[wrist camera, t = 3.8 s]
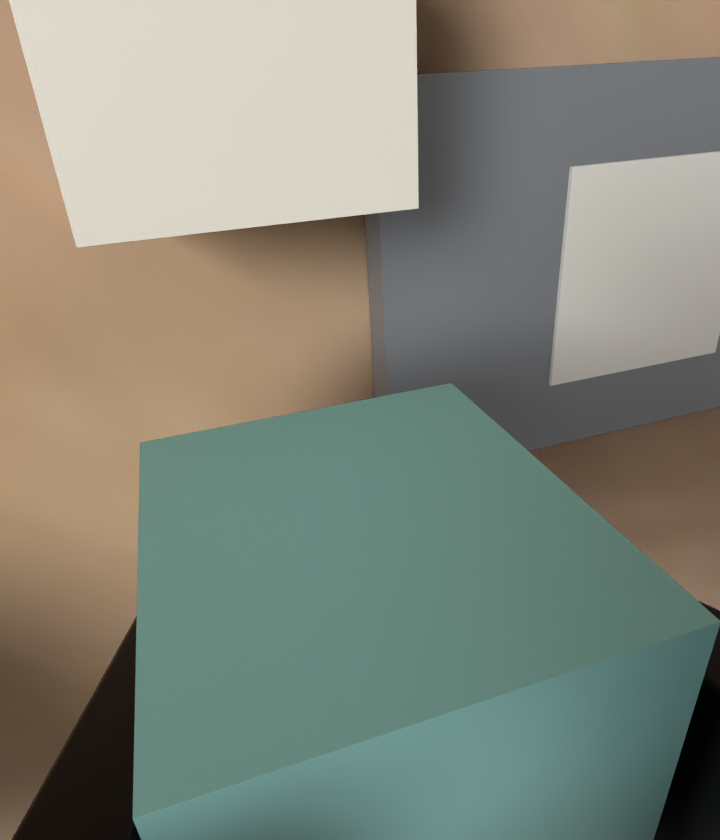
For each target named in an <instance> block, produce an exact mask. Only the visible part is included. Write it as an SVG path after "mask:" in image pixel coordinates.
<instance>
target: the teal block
mask: <svg viewBox="0 0 720 840" xmlns="http://www.w3.org/2000/svg"><path fill="white" fill-rule="evenodd" d="M719 626H720V620H719V619H718V618H716V617H715V616H714V615H713V614H712V613H711V612H710V611H708V610H707V609H706V608H705V607H704V606H703V605H702V604H701V603H699V602H698V601H697V600H696V599H695V598H694V597H693V596H692V595H690V594H689V593H688V592H687V591H686V590H685V589H684V588H682V587H681V586H680V585H679V584H678V583H677V582H676V581H675V580H673V579H672V578H671V577H670V576H669V575H668V574H667V573H666V572H664V571H663V570H662V569H661V568H660V567H659V566H658V565H656V564H655V563H654V562H653V561H652V560H651V559H650V558H649V557H647V556H646V555H645V554H644V553H643V552H642V551H641V550H640V549H638V548H637V547H636V546H635V545H634V544H633V543H632V542H630V541H629V540H628V539H627V538H626V537H625V536H624V535H623V534H621V533H620V532H619V531H618V530H617V529H616V528H615V527H614V526H612V525H611V524H610V523H609V522H608V521H607V520H606V519H604V518H603V517H602V516H601V515H600V514H599V513H598V512H597V511H595V510H594V509H593V508H592V507H591V506H590V505H589V504H588V503H586V502H585V501H584V500H583V499H582V498H581V497H580V496H578V495H577V494H576V493H575V492H574V491H573V490H572V489H571V488H569V487H568V486H567V485H566V484H565V483H564V482H563V481H562V480H560V479H559V478H558V477H557V476H556V475H555V474H554V473H552V472H551V471H550V470H549V469H548V468H547V467H546V466H545V465H543V464H542V463H541V462H540V461H539V460H538V459H537V458H536V457H534V456H533V455H532V454H531V453H530V452H529V451H528V450H526V449H525V448H524V447H523V446H522V445H521V444H520V443H519V442H517V441H516V440H515V439H514V438H513V437H512V436H511V435H510V434H508V433H507V432H506V431H505V430H504V429H503V428H502V427H500V426H499V425H498V424H497V423H496V422H495V421H494V420H493V419H491V418H490V417H489V416H488V415H487V414H486V413H485V412H484V411H482V410H481V409H480V408H479V407H478V406H477V405H476V404H474V403H473V402H472V401H471V400H470V399H469V398H468V397H467V396H465V395H464V394H463V393H462V392H461V391H460V390H459V389H458V388H456V387H455V386H454V385H453V384H452V383H449V384H444V385H438V386H433V387H428V388H423V389H418V390H412V391H407V392H402V393H397V394H392V395H386V396H381V397H376V398H371V399H365V400H360V401H355V402H350V403H345V404H339V405H334V406H329V407H324V408H318V409H313V410H308V411H303V412H298V413H292V414H287V415H282V416H277V417H272V418H266V419H261V420H256V421H251V422H245V423H240V424H235V425H230V426H225V427H219V428H214V429H209V430H204V431H198V432H193V433H188V434H183V435H178V436H172V437H167V438H162V439H157V440H151V441H146V442H141V443H140V475H139V524H138V574H137V624H136V674H135V723H134V773H133V821H134V823H135V826H136V828H137V831H138V833H139V835H140V838H141V840H654V837H655V834H656V830H657V827H658V824H659V821H660V817H661V814H662V811H663V808H664V804H665V801H666V798H667V795H668V791H669V788H670V785H671V782H672V778H673V775H674V772H675V769H676V765H677V762H678V759H679V756H680V753H681V749H682V746H683V743H684V740H685V736H686V733H687V730H688V727H689V723H690V720H691V717H692V714H693V710H694V707H695V704H696V701H697V697H698V694H699V691H700V688H701V685H702V681H703V678H704V675H705V672H706V668H707V665H708V662H709V659H710V655H711V652H712V649H713V646H714V642H715V639H716V636H717V633H718V629H719Z"/></svg>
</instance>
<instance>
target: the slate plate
mask: <svg viewBox="0 0 720 840" xmlns="http://www.w3.org/2000/svg"><path fill="white" fill-rule="evenodd" d="M417 108H418V195H419V208H418V209H409V210H400V211H391V212H383V213H374V214H365V228H366V247H367V266H368V285H369V304H370V323H371V342H372V361H373V380H374V398H376V397H381V396H386V395H392V394H397V393H402V392H407V391H412V390H418V389H423V388H428V387H433V386H438V385H444V384H449V383H452V384H453V385H454V386H455V387H456V388H458V389H459V390H460V391H461V392H462V393H463V394H464V395H465V396H467V397H468V398H469V399H470V400H471V401H472V402H473V403H474V404H476V405H477V406H478V407H479V408H480V409H481V410H482V411H484V412H485V413H486V414H487V415H488V416H489V417H490V418H491V419H493V420H494V421H495V422H496V423H497V424H498V425H499V426H500V427H502V428H503V429H504V430H505V431H506V432H507V433H508V434H510V435H511V436H512V437H513V438H514V439H515V440H516V441H517V442H519V443H520V444H521V445H522V446H523V447H524V448H525V449H526V450H528V451H531V450H535V449H540V448H544V447H548V446H553V445H557V444H561V443H566V442H570V441H574V440H579V439H583V438H587V437H592V436H596V435H600V434H605V433H609V432H613V431H618V430H622V429H626V428H631V427H635V426H639V425H644V424H648V423H652V422H657V421H661V420H665V419H670V418H674V417H678V416H683V415H687V414H691V413H696V412H700V411H704V410H709V409H713V408H717V407H720V57H712V58H694V59H677V60H659V61H642V62H624V63H607V64H589V65H571V66H554V67H536V68H519V69H501V70H484V71H466V72H449V73H431V74H417Z"/></svg>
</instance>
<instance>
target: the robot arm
mask: <svg viewBox="0 0 720 840" xmlns="http://www.w3.org/2000/svg"><path fill="white" fill-rule="evenodd" d="M698 602H699V601H698ZM699 603H701V604H702V605H703V606H704V607H705V608H706V609H707V610H708V611H710V612H711V613H712V614H713V615H714V616H715V617H716V618H718V619H719V620H720V611H719V610H717V609H715V608H713V607H711V606H708V605H706V604H704V603H702V602H699ZM136 624H137V616H136V618H135V620H134V622H133V623H132V625H131V627H130V629H129V631H128V632H127V634H126V636H125V638H124V640H123V641H122V643H121V645H120V647H119V648H118V650H117V652H116V654H115V656H114V657H113V659H112V661H111V663H110V665H109V666H108V668H107V670H106V672H105V673H104V675H103V677H102V679H101V681H100V682H99V684H98V686H97V688H96V690H95V691H94V693H93V695H92V697H91V699H90V700H89V702H88V704H87V706H86V707H85V709H84V711H83V713H82V715H81V716H80V718H79V720H78V722H77V724H76V725H75V727H74V729H73V731H72V733H71V734H70V736H69V738H68V740H67V741H66V743H65V745H64V747H63V749H62V750H61V752H60V754H59V756H58V758H57V759H56V761H55V763H54V765H53V767H52V768H51V770H50V772H49V774H48V775H47V777H46V779H45V781H44V783H43V784H42V786H41V788H40V790H39V792H38V793H37V795H36V797H35V799H34V800H33V802H32V804H31V806H30V808H29V809H28V811H27V813H26V815H25V817H24V818H23V820H22V822H21V824H20V826H19V827H18V829H17V831H16V833H15V834H14V836H13V838H12V840H141V838H140V835H139V833H138V831H137V828H136V826H135V823H134V821H133V773H134V723H135V674H136ZM654 840H720V626H719V629H718V633H717V636H716V639H715V642H714V646H713V649H712V652H711V655H710V659H709V662H708V665H707V668H706V672H705V675H704V678H703V681H702V685H701V688H700V691H699V694H698V697H697V701H696V704H695V707H694V710H693V714H692V717H691V720H690V723H689V727H688V730H687V733H686V736H685V740H684V743H683V746H682V749H681V753H680V756H679V759H678V762H677V765H676V769H675V772H674V775H673V778H672V782H671V785H670V788H669V791H668V795H667V798H666V801H665V804H664V808H663V811H662V814H661V817H660V821H659V824H658V827H657V830H656V834H655V837H654Z"/></svg>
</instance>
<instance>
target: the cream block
mask: <svg viewBox="0 0 720 840" xmlns="http://www.w3.org/2000/svg"><path fill="white" fill-rule="evenodd" d="M9 2H10V6H11V9H12V13H13V17H14V20H15V24H16V27H17V31H18V35H19V38H20V42H21V46H22V49H23V53H24V57H25V60H26V64H27V68H28V71H29V75H30V79H31V82H32V86H33V90H34V93H35V97H36V101H37V104H38V108H39V112H40V115H41V119H42V123H43V126H44V130H45V133H46V137H47V141H48V144H49V148H50V152H51V155H52V159H53V163H54V166H55V170H56V174H57V177H58V181H59V185H60V188H61V192H62V196H63V199H64V203H65V207H66V210H67V214H68V218H69V221H70V225H71V229H72V232H73V236H74V239H75V243H76V247H84V246H93V245H102V244H110V243H119V242H128V241H137V240H145V239H154V238H163V237H172V236H181V235H189V234H198V233H207V232H216V231H224V230H233V229H242V228H251V227H260V226H268V225H277V224H286V223H295V222H304V221H312V220H321V219H330V218H339V217H347V216H356V215H365V214H374V213H383V212H391V211H400V210H409V209H418V208H419V195H418V108H417V21H416V0H9Z"/></svg>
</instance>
